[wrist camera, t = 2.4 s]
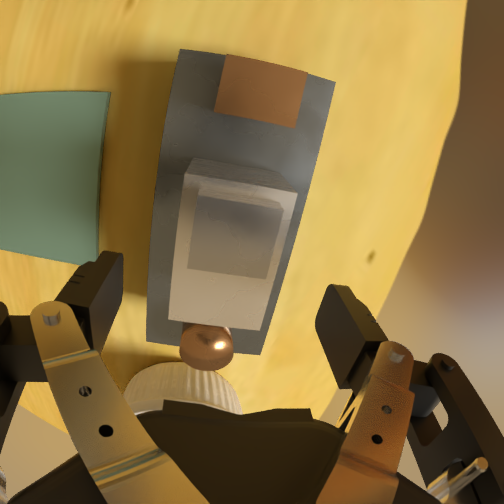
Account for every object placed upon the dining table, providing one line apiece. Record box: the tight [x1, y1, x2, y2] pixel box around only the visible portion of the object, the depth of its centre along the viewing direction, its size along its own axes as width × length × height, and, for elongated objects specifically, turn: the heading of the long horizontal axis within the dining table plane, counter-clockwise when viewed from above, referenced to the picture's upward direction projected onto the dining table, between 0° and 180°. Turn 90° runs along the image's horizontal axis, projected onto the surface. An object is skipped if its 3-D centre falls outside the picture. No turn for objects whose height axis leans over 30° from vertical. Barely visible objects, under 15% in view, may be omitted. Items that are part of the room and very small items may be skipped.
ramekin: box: [123, 362, 243, 415], centre depth 27 cm, size 13×13×7 cm
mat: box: [0, 91, 111, 265], centre depth 19 cm, size 13×10×1 cm
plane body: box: [146, 49, 336, 371], centre depth 18 cm, size 18×8×9 cm, turn 169°
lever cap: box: [168, 158, 298, 331], centre depth 15 cm, size 7×4×5 cm, turn 169°
